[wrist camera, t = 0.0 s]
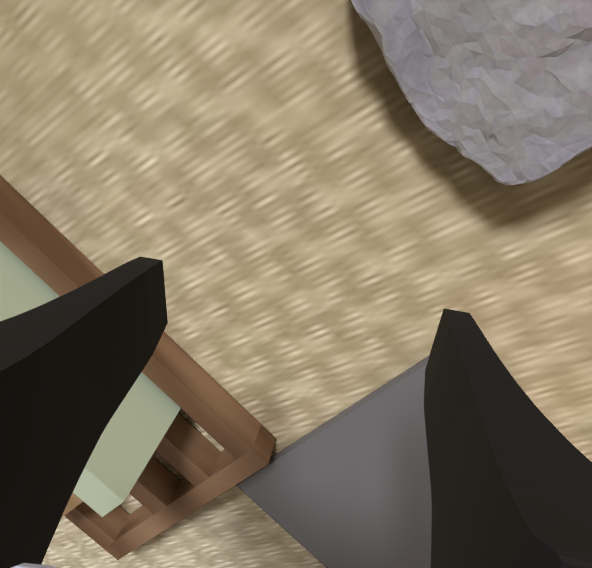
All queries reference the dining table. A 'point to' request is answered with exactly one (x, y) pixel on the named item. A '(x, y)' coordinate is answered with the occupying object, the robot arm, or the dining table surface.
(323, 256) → the dining table surface
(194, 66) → the dining table surface
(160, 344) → the rack
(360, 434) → the mat
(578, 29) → the stone block
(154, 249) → the dining table surface
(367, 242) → the dining table surface
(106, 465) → the pale green rectangular block
